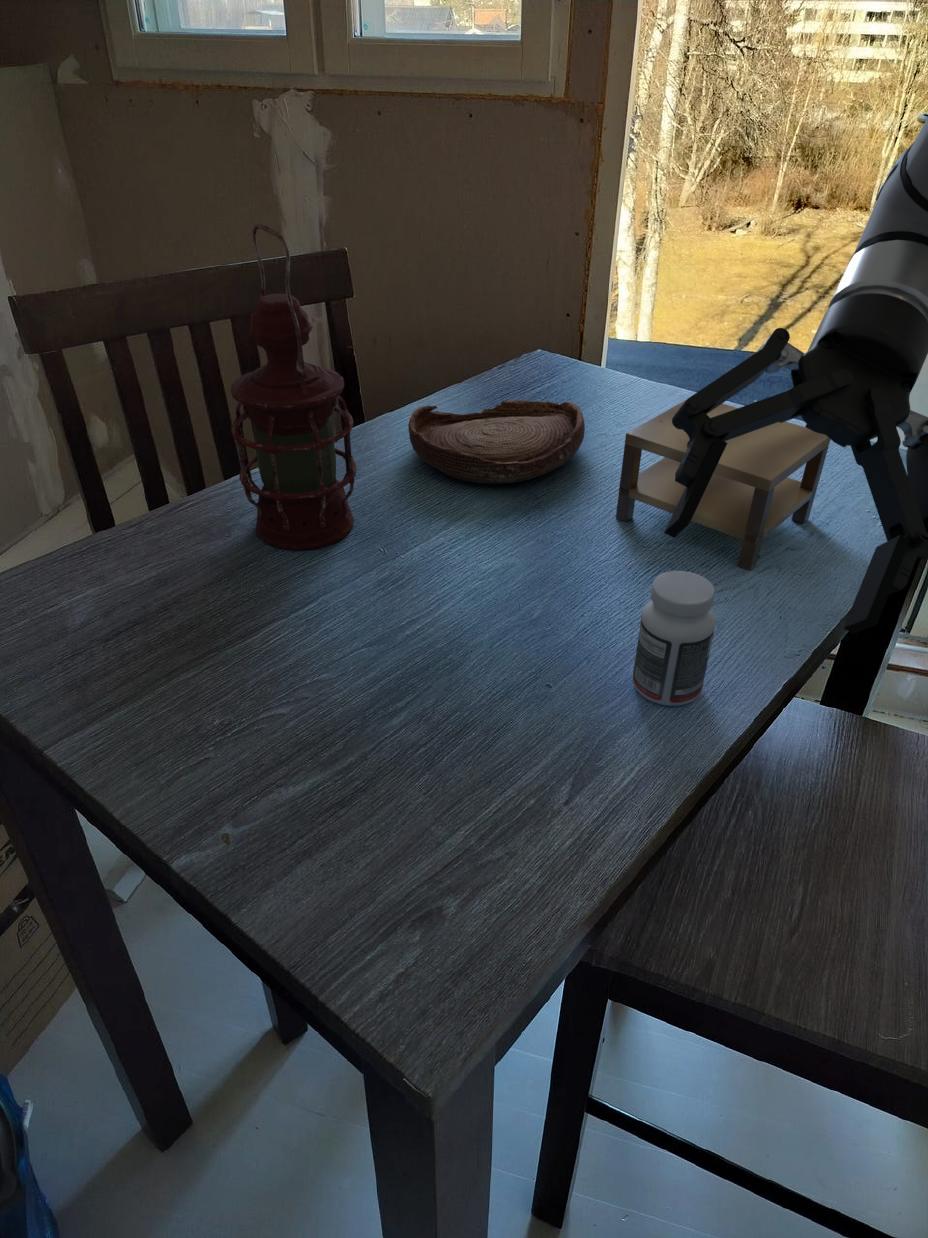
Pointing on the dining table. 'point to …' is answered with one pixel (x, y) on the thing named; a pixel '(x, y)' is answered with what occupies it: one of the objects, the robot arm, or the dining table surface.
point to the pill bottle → (675, 639)
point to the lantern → (292, 429)
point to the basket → (498, 440)
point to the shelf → (728, 478)
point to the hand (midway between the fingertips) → (767, 578)
